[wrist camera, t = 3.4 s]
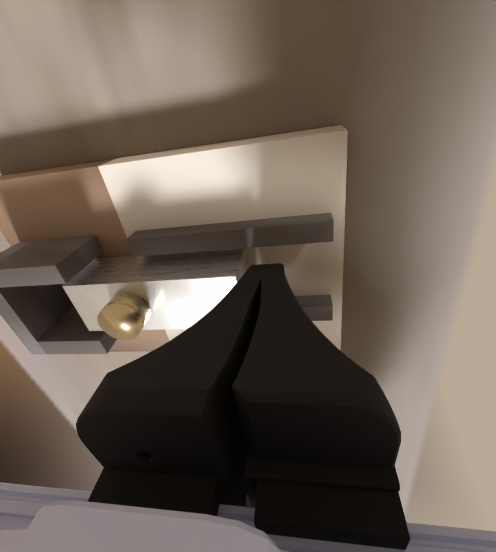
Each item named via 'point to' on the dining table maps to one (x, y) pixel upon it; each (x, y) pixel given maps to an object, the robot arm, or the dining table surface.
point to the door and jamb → (174, 227)
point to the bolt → (153, 290)
